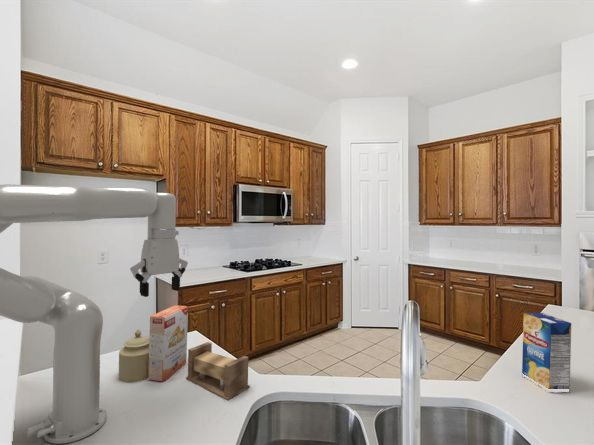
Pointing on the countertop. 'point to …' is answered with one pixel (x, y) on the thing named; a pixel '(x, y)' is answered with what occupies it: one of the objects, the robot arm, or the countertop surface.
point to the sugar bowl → (134, 359)
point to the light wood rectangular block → (211, 364)
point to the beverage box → (546, 350)
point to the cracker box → (167, 342)
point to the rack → (233, 374)
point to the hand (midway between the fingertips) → (160, 293)
